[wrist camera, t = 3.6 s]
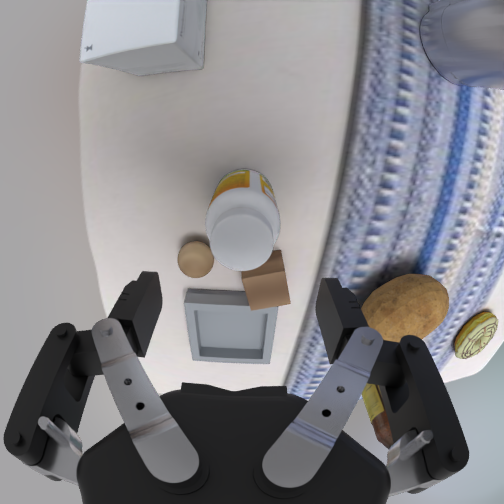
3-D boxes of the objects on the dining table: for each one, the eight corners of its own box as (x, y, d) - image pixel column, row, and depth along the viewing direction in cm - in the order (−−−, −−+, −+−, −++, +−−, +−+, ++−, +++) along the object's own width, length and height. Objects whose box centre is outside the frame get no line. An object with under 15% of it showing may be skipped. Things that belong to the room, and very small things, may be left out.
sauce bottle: (360, 377, 40) (388, 480, 23) (347, 362, 38) (377, 479, 21) (394, 359, 38) (432, 461, 21) (384, 342, 36) (428, 458, 19)
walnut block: (242, 256, 29) (241, 278, 25) (280, 249, 28) (284, 270, 25) (250, 286, 31) (250, 310, 27) (286, 280, 30) (290, 303, 27)
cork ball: (180, 234, 27) (171, 251, 24) (215, 235, 27) (211, 253, 24) (183, 264, 29) (175, 284, 26) (216, 266, 29) (212, 286, 26)
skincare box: (207, 69, 20) (177, 43, 10) (138, 77, 19) (74, 66, 10) (212, -24, 14) (192, -82, 5) (145, -14, 14) (97, -57, 5)
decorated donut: (447, 357, 41) (455, 370, 37) (453, 324, 36) (463, 339, 32) (485, 334, 38) (493, 346, 35) (494, 299, 34) (505, 312, 30)
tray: (188, 288, 31) (184, 302, 28) (276, 292, 31) (278, 306, 29) (195, 346, 35) (192, 360, 33) (268, 349, 36) (269, 363, 34)
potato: (319, 312, 33) (333, 363, 26) (409, 239, 28) (446, 278, 21) (358, 344, 36) (374, 388, 29) (436, 284, 31) (465, 322, 24)
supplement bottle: (208, 211, 26) (188, 266, 18) (226, 159, 24) (213, 190, 15) (260, 229, 27) (265, 290, 19) (282, 180, 25) (299, 222, 16)
